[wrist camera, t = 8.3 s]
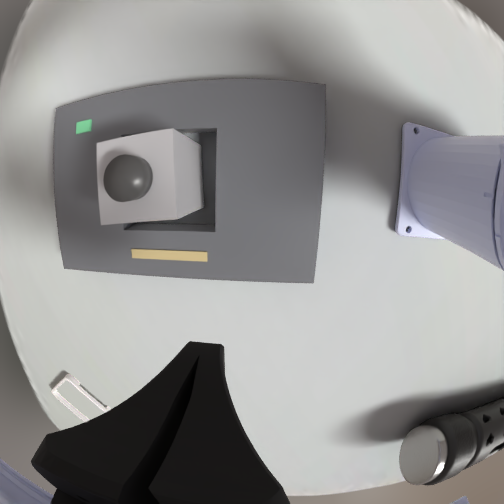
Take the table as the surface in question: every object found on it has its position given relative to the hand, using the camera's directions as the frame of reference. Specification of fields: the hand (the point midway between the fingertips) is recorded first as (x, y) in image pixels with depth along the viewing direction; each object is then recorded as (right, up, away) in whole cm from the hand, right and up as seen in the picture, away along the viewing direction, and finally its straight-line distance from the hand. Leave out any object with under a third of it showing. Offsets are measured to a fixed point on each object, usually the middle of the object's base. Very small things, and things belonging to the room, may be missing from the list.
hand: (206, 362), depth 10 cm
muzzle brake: (+35, -20, +15) cm, 43 cm away
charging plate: (-3, +9, +7) cm, 12 cm away
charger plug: (-3, +9, +7) cm, 12 cm away
